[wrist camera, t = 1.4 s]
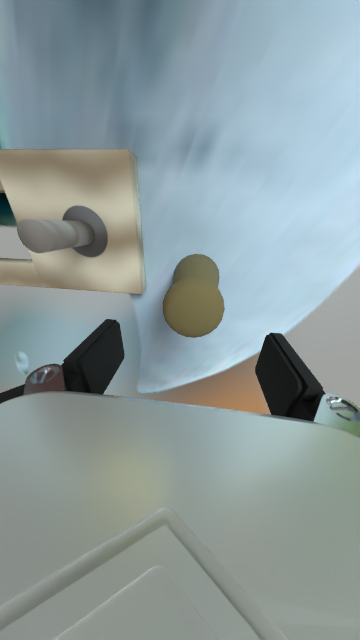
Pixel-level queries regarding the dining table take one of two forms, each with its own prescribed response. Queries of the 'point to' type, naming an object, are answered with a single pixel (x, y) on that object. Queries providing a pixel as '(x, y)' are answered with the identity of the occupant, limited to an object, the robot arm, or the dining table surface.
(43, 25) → the dining table surface
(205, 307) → the olive rounded piece
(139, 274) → the beige panel with knob
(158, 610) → the robot arm
